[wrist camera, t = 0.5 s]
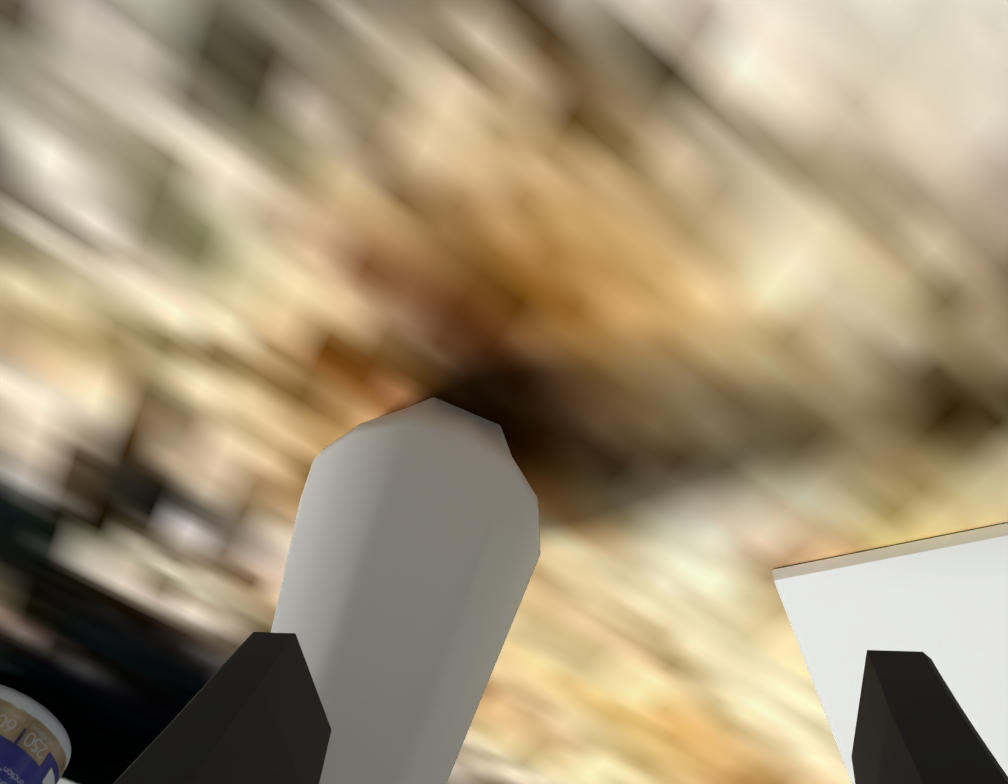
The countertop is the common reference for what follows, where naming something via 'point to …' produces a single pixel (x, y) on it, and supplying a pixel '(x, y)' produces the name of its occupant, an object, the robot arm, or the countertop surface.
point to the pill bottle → (30, 741)
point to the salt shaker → (407, 586)
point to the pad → (908, 624)
